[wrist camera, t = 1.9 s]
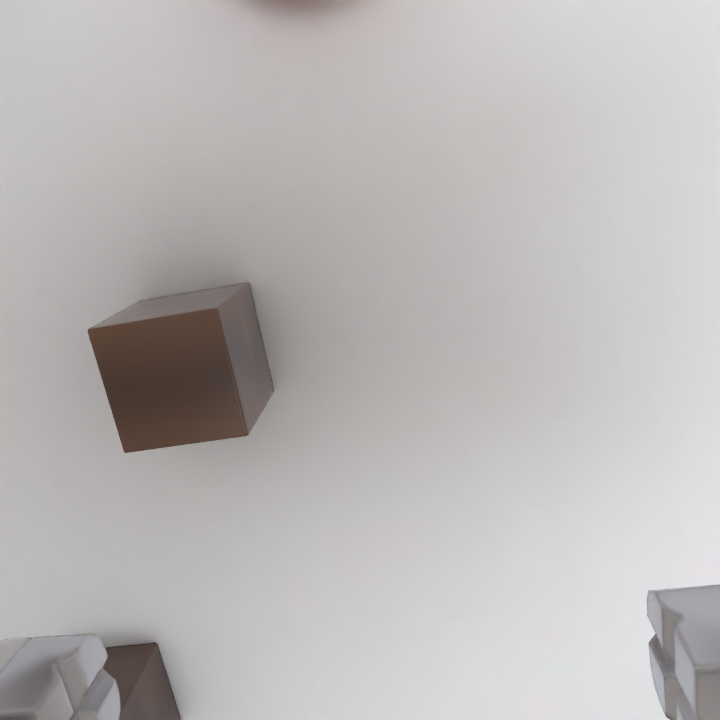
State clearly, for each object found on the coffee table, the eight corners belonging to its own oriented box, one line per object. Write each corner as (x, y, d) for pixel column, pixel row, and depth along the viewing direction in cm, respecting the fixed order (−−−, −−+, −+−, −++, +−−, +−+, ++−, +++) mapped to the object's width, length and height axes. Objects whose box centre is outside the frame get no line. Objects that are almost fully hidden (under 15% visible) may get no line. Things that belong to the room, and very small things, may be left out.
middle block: (274, 391, 30) (248, 436, 26) (168, 407, 31) (123, 453, 26) (249, 281, 29) (217, 307, 24) (138, 300, 30) (85, 329, 25)
